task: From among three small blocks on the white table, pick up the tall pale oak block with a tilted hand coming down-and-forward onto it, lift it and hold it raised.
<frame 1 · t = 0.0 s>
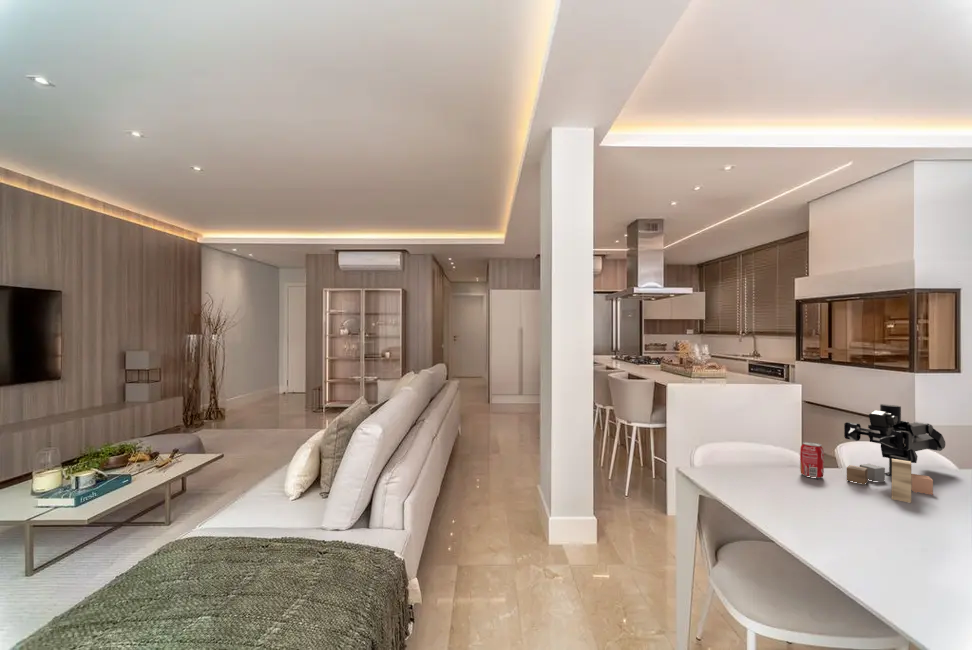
hand: (864, 437, 156), 17 cm above the table, tool horizontal, fingers open, 9 cm apart
terracotta block: (920, 491, 151), on the table
soda can: (811, 477, 164), on the table
walnut block: (857, 482, 159), on the table
tall oak block: (901, 499, 143), on the table
slate grey block: (872, 480, 162), on the table
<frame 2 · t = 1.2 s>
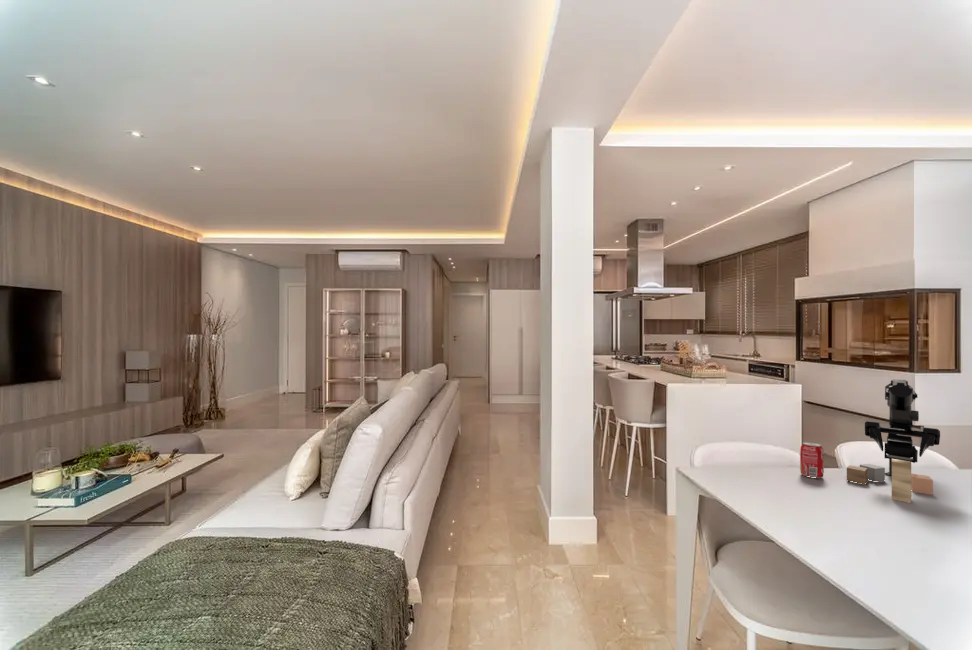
hand: (901, 453, 148), 13 cm above the table, tool tilted 45°, fingers open, 9 cm apart
nothing on the table moved.
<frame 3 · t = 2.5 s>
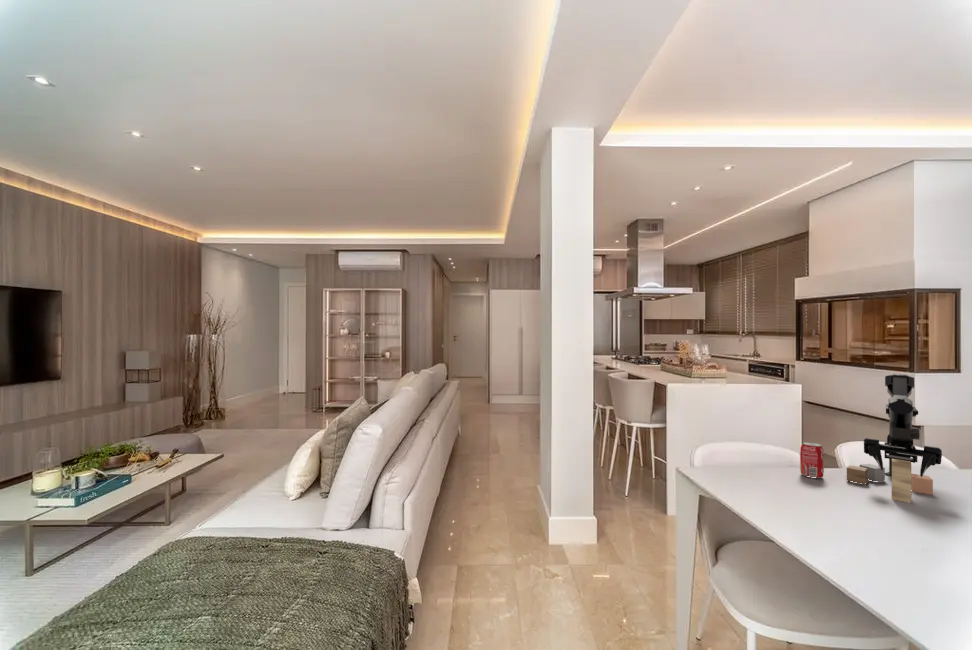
hand: (901, 472, 143), 8 cm above the table, tool tilted 45°, fingers open, 9 cm apart
nothing on the table moved.
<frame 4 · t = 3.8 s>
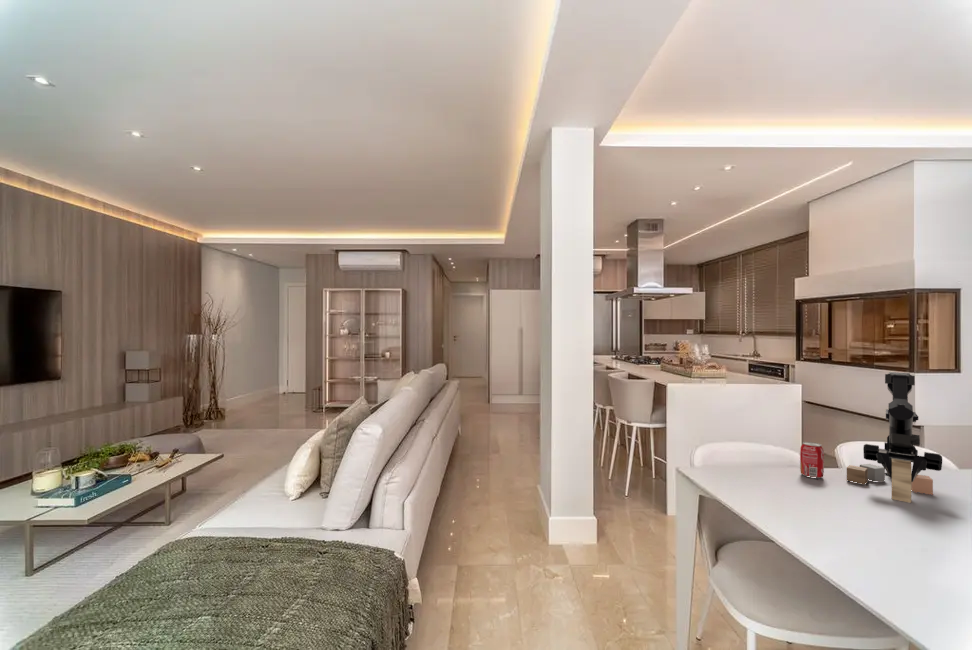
hand: (901, 479, 142), 7 cm above the table, tool tilted 45°, fingers closed on tall oak block, 4 cm apart
tall oak block: (901, 499, 143), on the table, touching gripper
everything else where it was.
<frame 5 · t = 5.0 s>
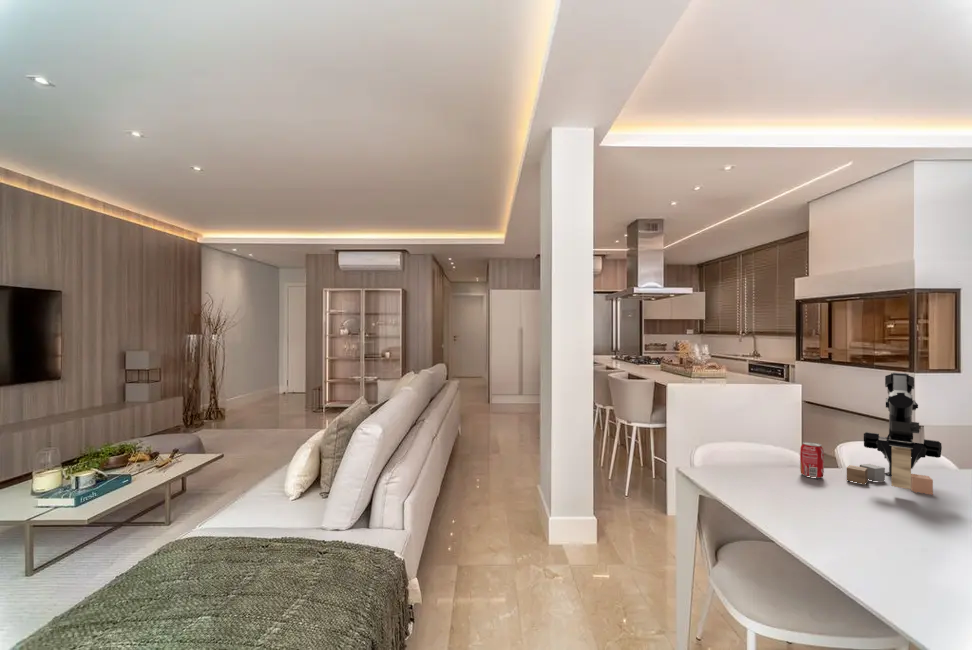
hand: (901, 466, 143), 10 cm above the table, tool tilted 45°, fingers closed on tall oak block, 4 cm apart
tall oak block: (900, 485, 144), point 4 cm above the table, touching gripper
everything else where it was.
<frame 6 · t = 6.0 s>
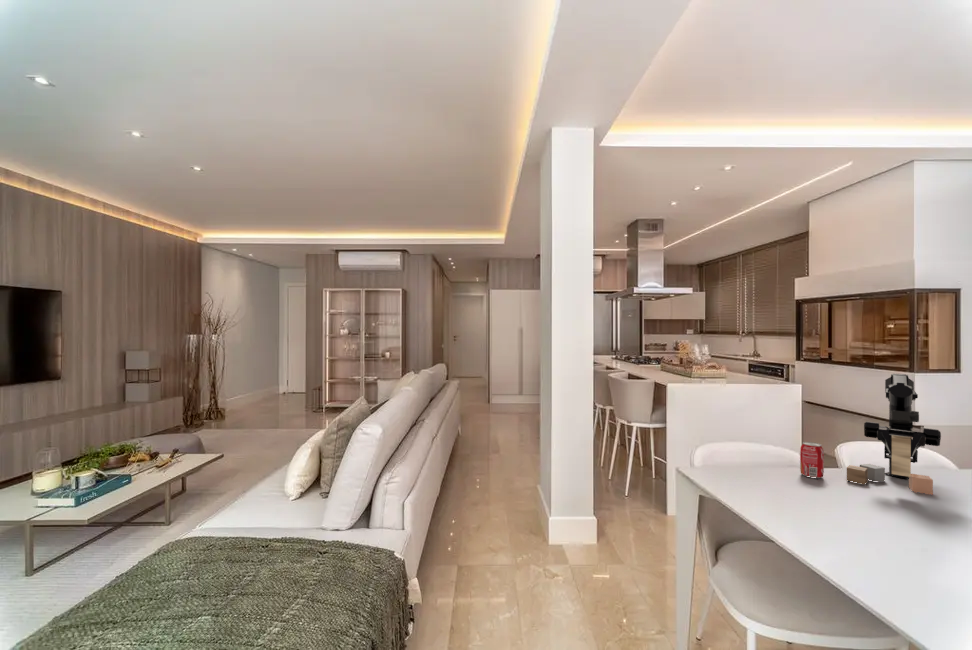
hand: (901, 454, 146), 13 cm above the table, tool tilted 45°, fingers closed on tall oak block, 4 cm apart
tall oak block: (900, 473, 147), point 7 cm above the table, touching gripper
everything else where it was.
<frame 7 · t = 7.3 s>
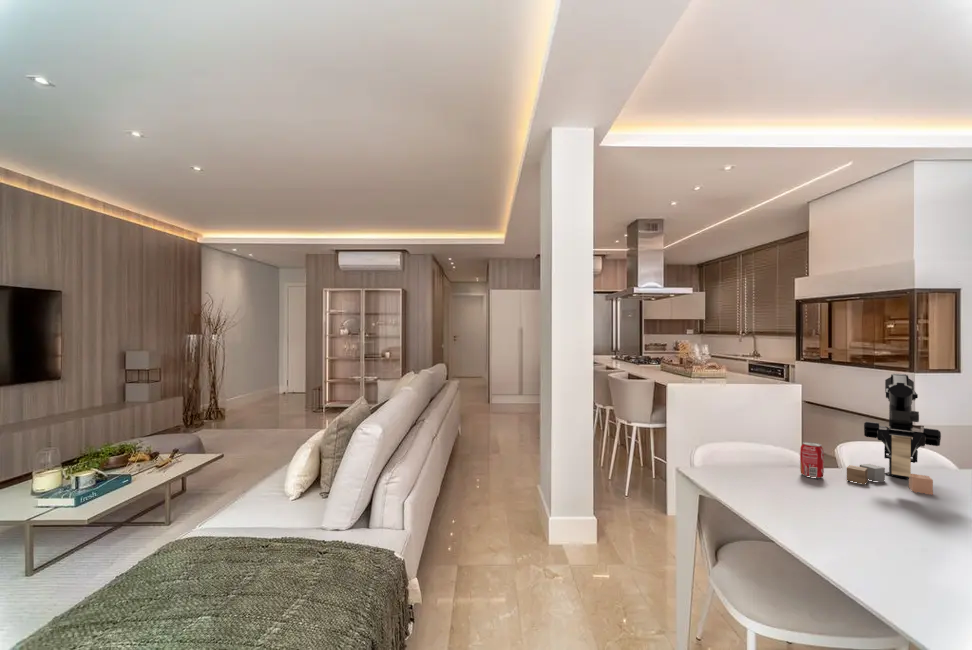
hand: (901, 454, 146), 13 cm above the table, tool tilted 45°, fingers closed on tall oak block, 4 cm apart
tall oak block: (900, 473, 147), point 7 cm above the table, touching gripper
everything else where it was.
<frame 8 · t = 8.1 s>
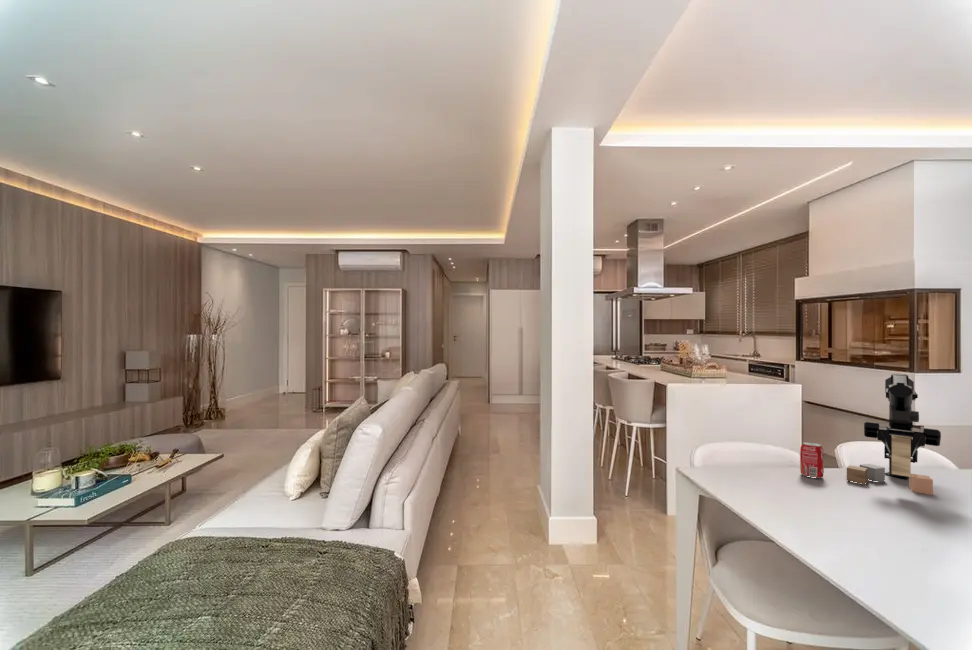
hand: (901, 454, 146), 13 cm above the table, tool tilted 45°, fingers closed on tall oak block, 4 cm apart
tall oak block: (900, 473, 147), point 7 cm above the table, touching gripper
everything else where it was.
at the end: the gripper is holding tall oak block; tall oak block point 6.9 cm above the table; walnut block moved 0.1 cm from its start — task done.
